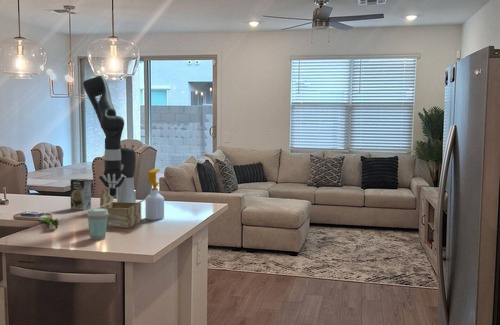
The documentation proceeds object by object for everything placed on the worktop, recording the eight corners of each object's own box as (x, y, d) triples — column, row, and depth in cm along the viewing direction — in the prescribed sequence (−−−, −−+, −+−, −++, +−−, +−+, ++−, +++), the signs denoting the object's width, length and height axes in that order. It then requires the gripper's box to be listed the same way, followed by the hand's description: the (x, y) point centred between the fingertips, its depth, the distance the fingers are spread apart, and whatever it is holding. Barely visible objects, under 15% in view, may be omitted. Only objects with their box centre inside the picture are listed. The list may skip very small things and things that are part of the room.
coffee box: (70, 209, 272) (69, 179, 271) (78, 207, 278) (78, 178, 277) (83, 210, 269) (83, 180, 268) (91, 208, 275) (91, 179, 274)
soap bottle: (167, 217, 254) (167, 168, 252) (158, 220, 246) (158, 170, 244) (151, 215, 257) (151, 168, 255) (142, 219, 249) (142, 169, 247)
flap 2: (140, 201, 242) (152, 195, 242) (140, 202, 242) (152, 195, 242) (129, 207, 227) (142, 200, 227) (129, 208, 227) (142, 200, 227)
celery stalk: (50, 223, 246) (63, 230, 221) (35, 226, 243) (46, 234, 217) (48, 210, 246) (60, 216, 220) (33, 214, 242) (43, 220, 217)
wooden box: (113, 220, 246) (112, 201, 245) (141, 221, 244) (140, 202, 243) (99, 227, 229) (99, 207, 228) (129, 228, 227) (129, 208, 227)
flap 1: (112, 200, 244) (113, 186, 243) (113, 201, 244) (113, 186, 243) (100, 206, 229) (100, 191, 228) (100, 206, 229) (101, 191, 228)
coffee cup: (89, 236, 212) (89, 207, 211) (110, 236, 213) (110, 207, 212) (84, 241, 203) (84, 211, 202) (106, 240, 204) (106, 211, 203)
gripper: (95, 159, 231) (96, 196, 233) (123, 159, 230) (124, 197, 231) (102, 158, 239) (102, 194, 240) (129, 158, 237) (129, 195, 239)
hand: (113, 196), depth 236 cm, fingers closed
